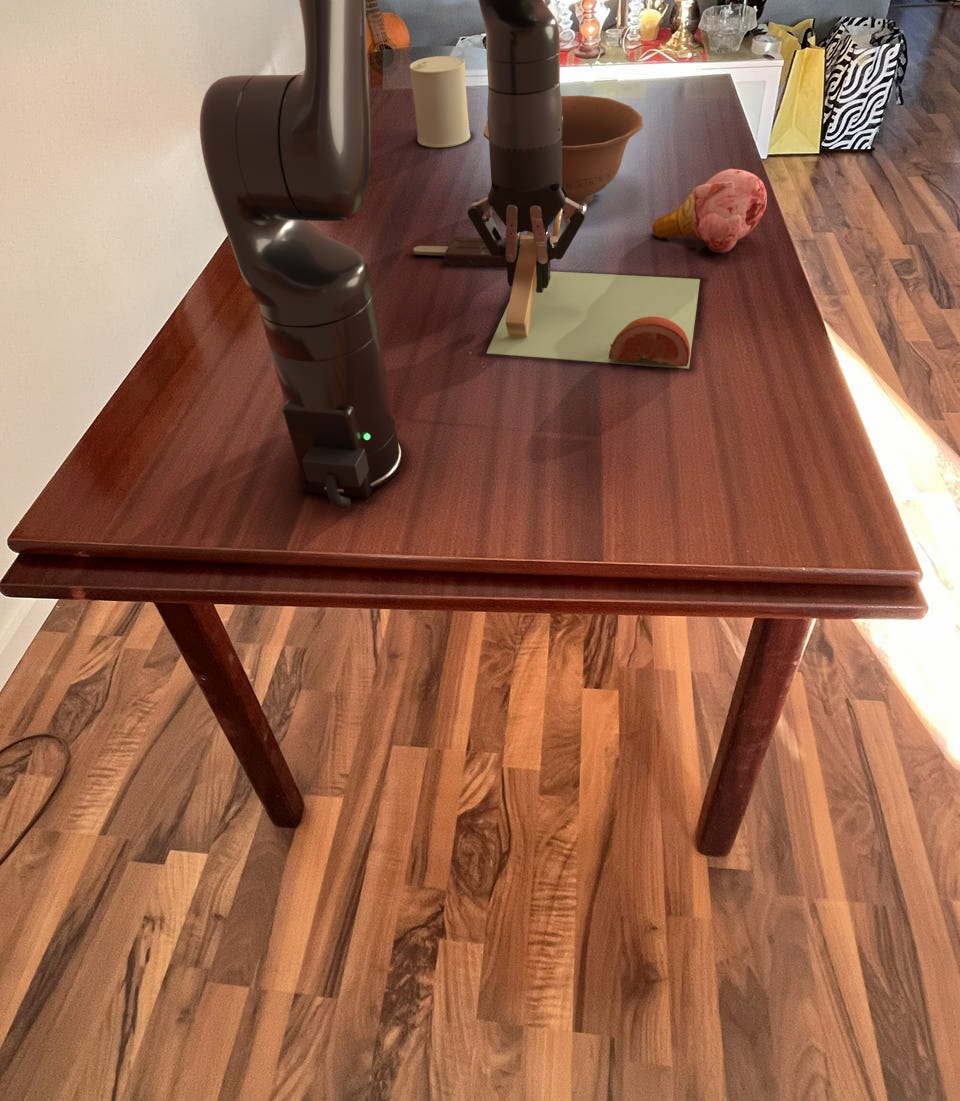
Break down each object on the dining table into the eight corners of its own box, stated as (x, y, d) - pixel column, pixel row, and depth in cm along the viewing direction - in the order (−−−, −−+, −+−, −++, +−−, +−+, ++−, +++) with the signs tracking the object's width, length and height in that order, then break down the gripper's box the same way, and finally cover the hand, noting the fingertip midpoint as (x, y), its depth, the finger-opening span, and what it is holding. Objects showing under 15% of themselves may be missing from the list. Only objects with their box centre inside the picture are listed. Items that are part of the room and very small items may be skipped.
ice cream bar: (409, 264, 107) (521, 268, 104) (407, 252, 106) (521, 256, 103) (419, 247, 111) (528, 250, 108) (418, 235, 109) (527, 238, 107)
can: (409, 136, 142) (400, 59, 134) (457, 125, 145) (451, 49, 136) (429, 152, 136) (421, 72, 128) (479, 140, 139) (474, 61, 130)
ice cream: (631, 247, 103) (747, 212, 93) (638, 180, 105) (751, 138, 95) (670, 288, 111) (780, 259, 101) (675, 225, 113) (784, 190, 103)
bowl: (467, 224, 115) (460, 142, 107) (512, 166, 129) (510, 90, 121) (621, 237, 109) (626, 151, 101) (651, 174, 123) (657, 95, 115)
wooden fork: (540, 338, 91) (538, 324, 89) (495, 335, 92) (491, 321, 90) (563, 208, 96) (561, 192, 93) (520, 207, 97) (517, 190, 94)
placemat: (688, 370, 85) (688, 368, 85) (486, 354, 90) (486, 353, 90) (699, 280, 99) (700, 279, 99) (523, 271, 104) (523, 269, 103)
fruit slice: (614, 325, 90) (608, 369, 89) (613, 302, 83) (606, 349, 83) (692, 331, 88) (686, 376, 88) (696, 307, 81) (690, 355, 81)
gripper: (450, 144, 82) (464, 301, 94) (587, 147, 79) (583, 308, 91) (468, 118, 87) (479, 270, 99) (598, 119, 84) (592, 276, 96)
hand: (529, 288), depth 95 cm, fingers closed on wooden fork, 2 cm apart
